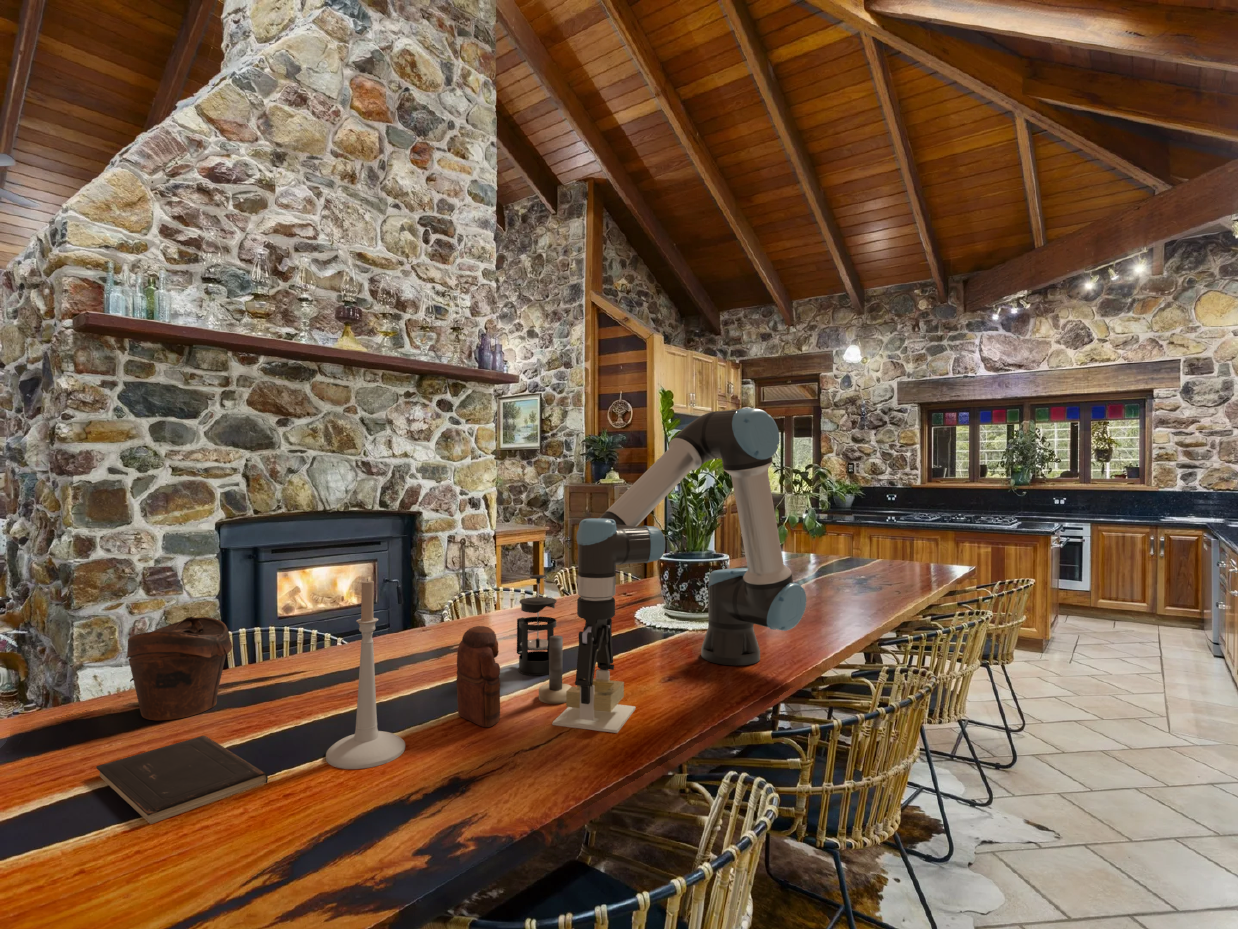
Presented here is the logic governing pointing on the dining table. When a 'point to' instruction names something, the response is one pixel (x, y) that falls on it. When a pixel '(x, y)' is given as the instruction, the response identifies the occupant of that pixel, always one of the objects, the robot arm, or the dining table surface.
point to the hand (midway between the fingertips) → (594, 710)
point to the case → (178, 667)
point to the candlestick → (366, 706)
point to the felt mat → (596, 719)
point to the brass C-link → (598, 695)
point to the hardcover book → (180, 777)
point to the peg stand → (554, 674)
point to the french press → (537, 660)
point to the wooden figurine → (478, 677)
